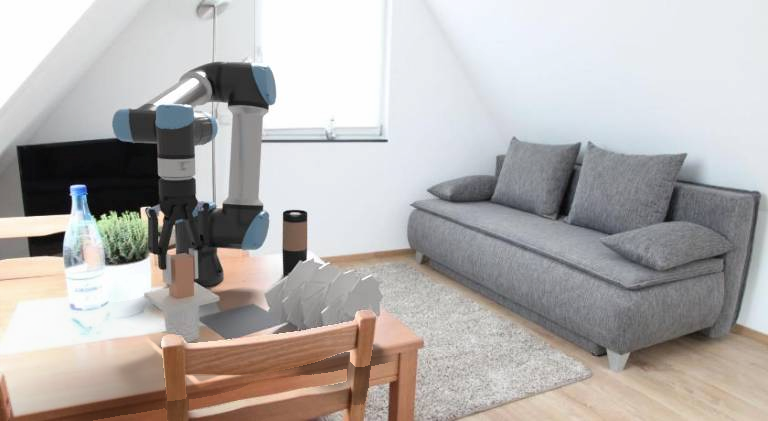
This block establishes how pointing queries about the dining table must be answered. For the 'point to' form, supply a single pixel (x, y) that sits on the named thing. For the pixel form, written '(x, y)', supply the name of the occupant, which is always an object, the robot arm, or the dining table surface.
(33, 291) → the dining table surface
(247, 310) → the mat
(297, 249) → the travel mug
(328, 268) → the spiral staircase
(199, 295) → the lid
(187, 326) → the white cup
